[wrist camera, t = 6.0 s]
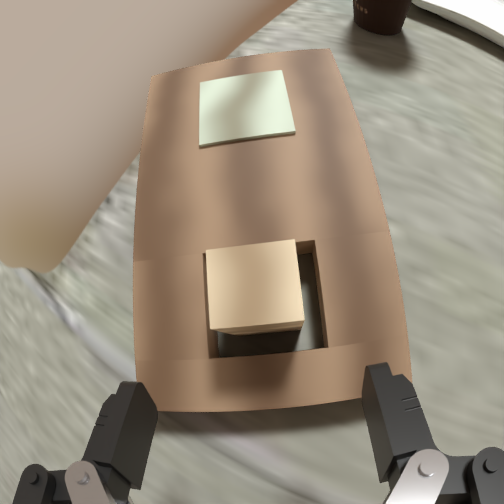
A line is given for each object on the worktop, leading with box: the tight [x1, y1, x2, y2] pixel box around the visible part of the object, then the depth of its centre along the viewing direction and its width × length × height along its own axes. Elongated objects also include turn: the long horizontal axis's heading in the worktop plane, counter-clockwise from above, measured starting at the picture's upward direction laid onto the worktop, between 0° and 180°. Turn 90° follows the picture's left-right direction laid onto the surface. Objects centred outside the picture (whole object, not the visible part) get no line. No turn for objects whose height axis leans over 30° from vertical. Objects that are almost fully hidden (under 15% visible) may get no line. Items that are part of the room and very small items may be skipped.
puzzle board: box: [133, 49, 412, 412], centre depth 24 cm, size 18×30×3 cm, turn 5°
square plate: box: [412, 0, 504, 48], centre depth 31 cm, size 27×27×4 cm
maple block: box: [206, 239, 304, 336], centre depth 19 cm, size 4×4×8 cm
